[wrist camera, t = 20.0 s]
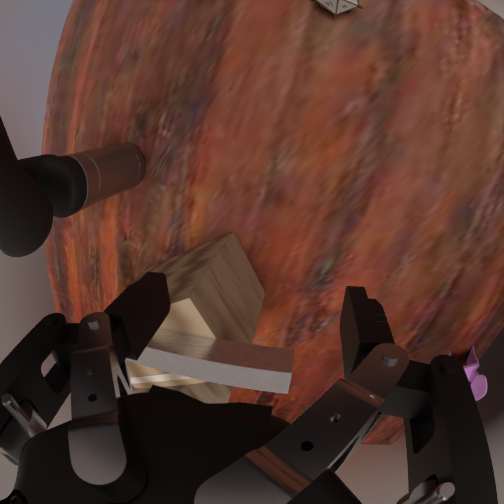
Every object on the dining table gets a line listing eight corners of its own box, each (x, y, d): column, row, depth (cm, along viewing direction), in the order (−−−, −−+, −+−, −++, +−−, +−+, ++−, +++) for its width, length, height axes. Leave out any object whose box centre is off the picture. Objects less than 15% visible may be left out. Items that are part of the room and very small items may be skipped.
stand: (184, 361, 70) (133, 464, 40) (126, 277, 62) (35, 371, 32) (289, 338, 61) (269, 477, 31) (233, 231, 53) (149, 360, 23)
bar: (127, 339, 38) (114, 356, 34) (121, 318, 36) (107, 335, 33) (290, 370, 35) (287, 393, 31) (294, 349, 33) (291, 373, 29)
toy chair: (449, 347, 55) (468, 390, 42) (475, 342, 53) (495, 381, 40) (440, 369, 58) (455, 411, 45) (466, 363, 56) (482, 403, 43)
